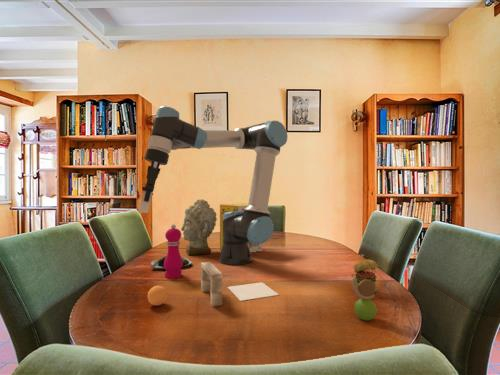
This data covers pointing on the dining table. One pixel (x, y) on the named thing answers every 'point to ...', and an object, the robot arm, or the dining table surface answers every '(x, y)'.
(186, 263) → the salad plate
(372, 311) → the snail figurine
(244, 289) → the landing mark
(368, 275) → the hamburger
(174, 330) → the dining table surface
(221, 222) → the packaging box
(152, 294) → the ball
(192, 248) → the buddha head
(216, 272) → the bridge
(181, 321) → the dining table surface
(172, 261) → the pepper mill
